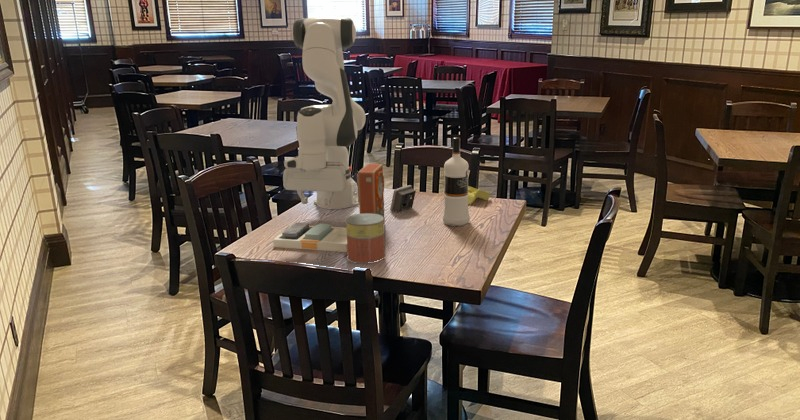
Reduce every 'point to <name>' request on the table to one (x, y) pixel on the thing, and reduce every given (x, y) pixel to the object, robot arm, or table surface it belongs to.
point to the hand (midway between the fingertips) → (316, 204)
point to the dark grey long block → (296, 231)
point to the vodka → (456, 188)
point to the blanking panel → (318, 232)
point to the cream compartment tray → (317, 241)
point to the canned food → (365, 237)
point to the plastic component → (476, 194)
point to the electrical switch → (403, 199)
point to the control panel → (371, 189)
